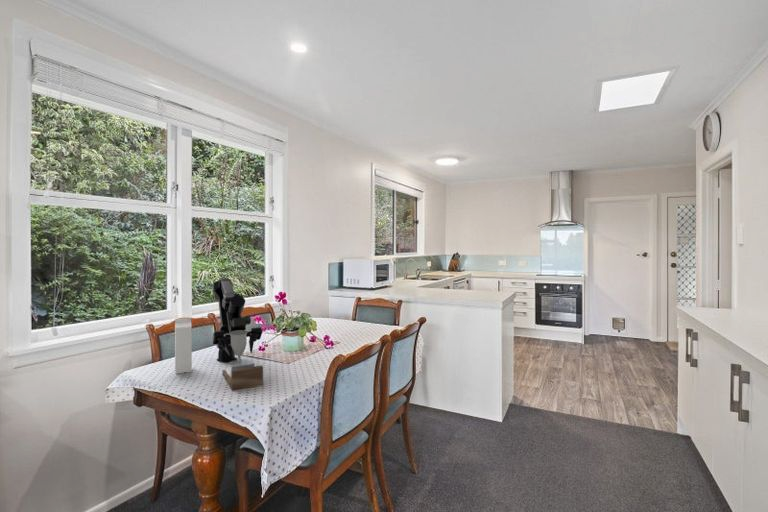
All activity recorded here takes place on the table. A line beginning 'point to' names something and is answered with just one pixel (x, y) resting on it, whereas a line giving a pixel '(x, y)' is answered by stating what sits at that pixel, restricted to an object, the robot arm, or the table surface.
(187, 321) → the milk
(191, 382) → the table surface
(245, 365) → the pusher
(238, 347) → the chalice
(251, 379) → the brown wooden u-shaped piece
